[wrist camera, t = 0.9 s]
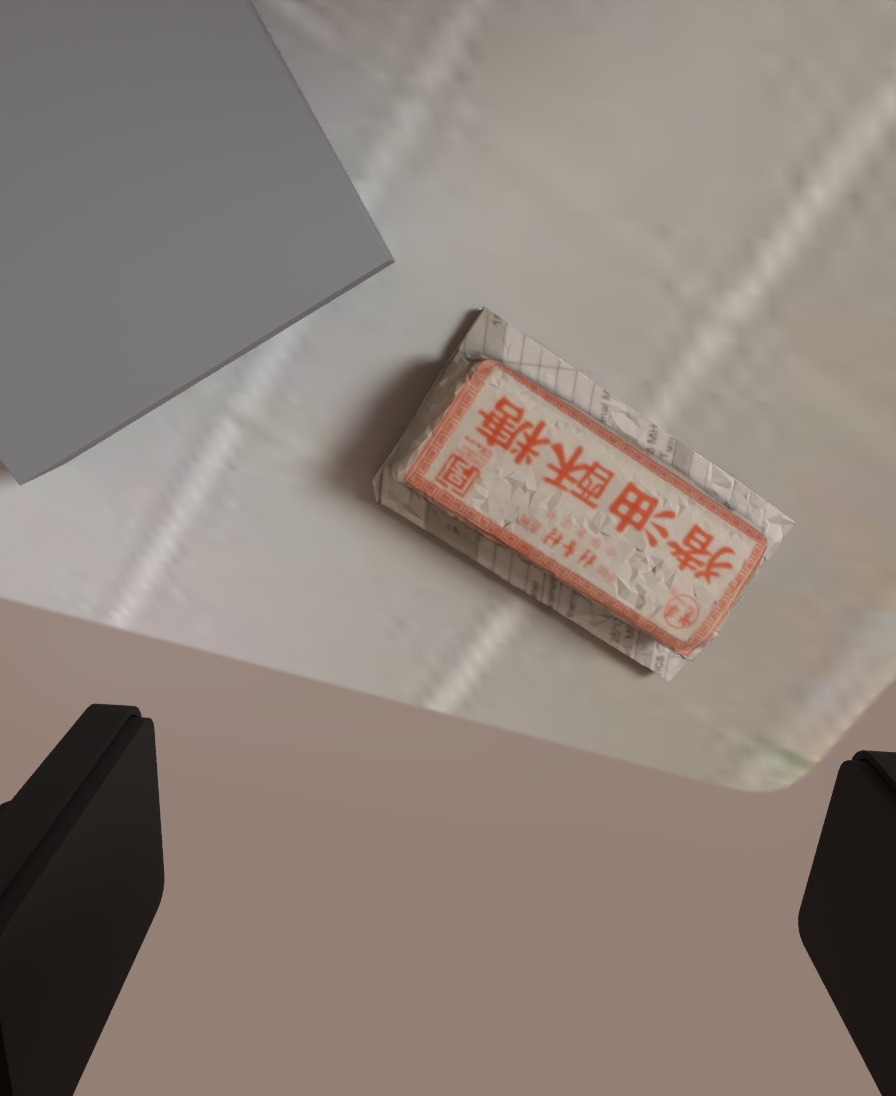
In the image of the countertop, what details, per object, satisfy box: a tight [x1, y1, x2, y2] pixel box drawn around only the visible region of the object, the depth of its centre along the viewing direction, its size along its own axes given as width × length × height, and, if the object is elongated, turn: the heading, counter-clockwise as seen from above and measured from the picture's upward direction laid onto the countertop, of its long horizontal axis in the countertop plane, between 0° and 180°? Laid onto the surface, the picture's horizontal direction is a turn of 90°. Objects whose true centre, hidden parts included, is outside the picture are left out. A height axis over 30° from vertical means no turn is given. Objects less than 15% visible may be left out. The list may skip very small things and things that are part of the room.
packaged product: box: [372, 306, 797, 681], centre depth 35 cm, size 18×5×10 cm
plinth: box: [0, 0, 395, 485], centre depth 31 cm, size 18×18×4 cm
